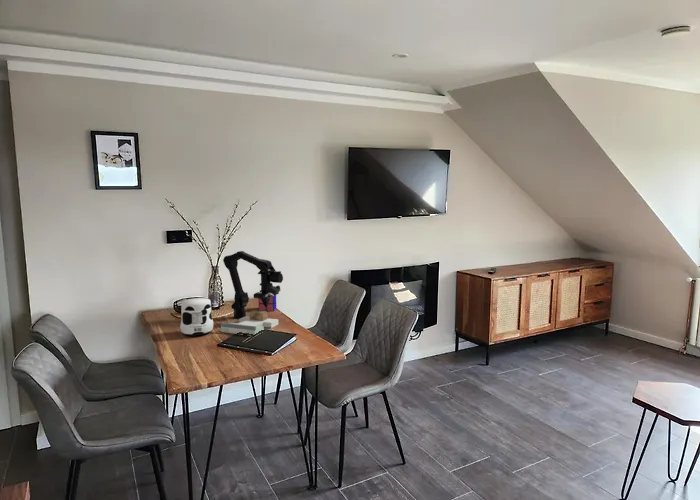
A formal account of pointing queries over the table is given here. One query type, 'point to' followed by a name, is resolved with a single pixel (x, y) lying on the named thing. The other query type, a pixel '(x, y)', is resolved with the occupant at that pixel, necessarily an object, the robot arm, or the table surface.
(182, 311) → the milk container
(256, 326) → the board
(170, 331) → the table surface
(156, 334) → the table surface
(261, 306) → the puzzle cube
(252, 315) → the walnut block
